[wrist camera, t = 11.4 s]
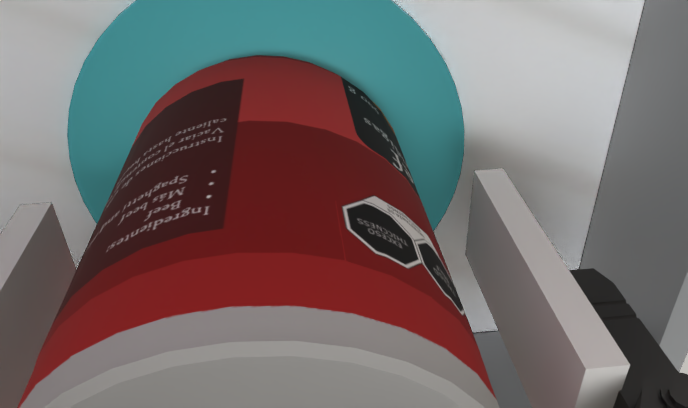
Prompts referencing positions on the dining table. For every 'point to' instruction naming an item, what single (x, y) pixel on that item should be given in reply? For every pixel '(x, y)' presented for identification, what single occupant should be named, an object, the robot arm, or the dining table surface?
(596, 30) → the dining table surface
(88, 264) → the canned food
